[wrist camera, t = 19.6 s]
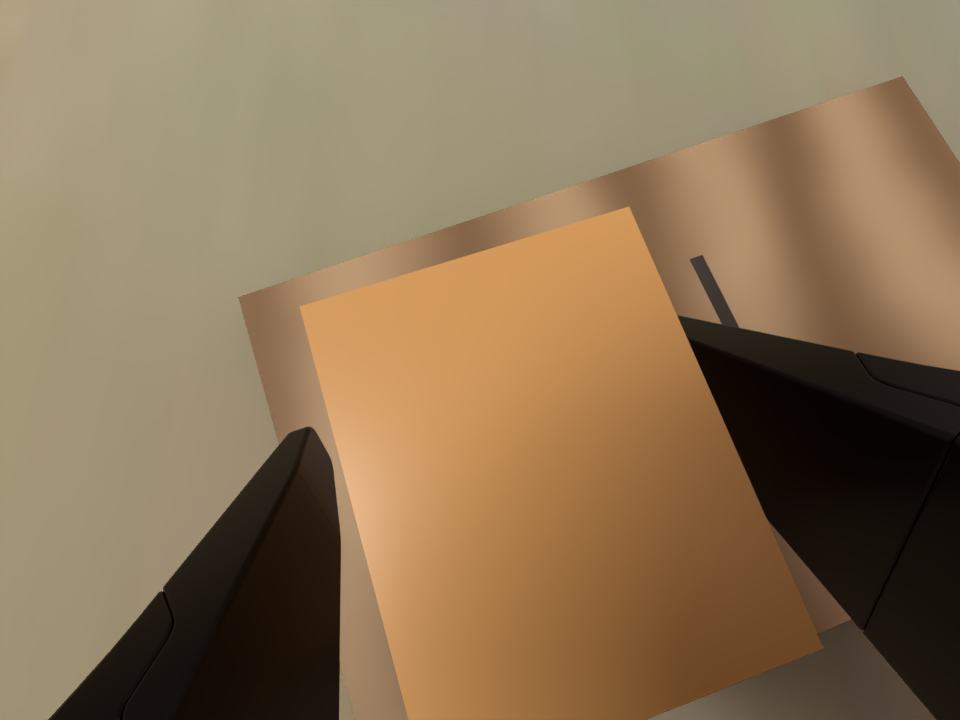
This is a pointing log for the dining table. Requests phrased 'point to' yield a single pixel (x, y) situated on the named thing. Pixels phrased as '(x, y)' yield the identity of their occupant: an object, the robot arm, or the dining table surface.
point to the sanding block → (549, 486)
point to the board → (692, 283)
